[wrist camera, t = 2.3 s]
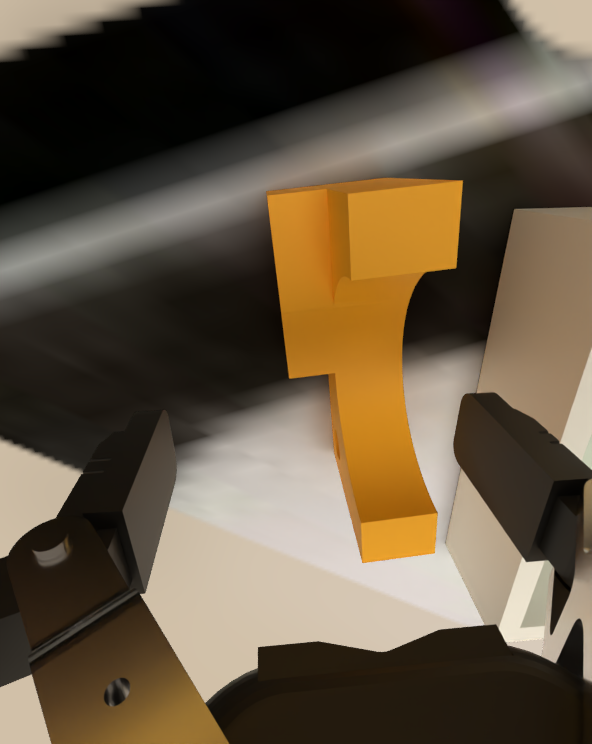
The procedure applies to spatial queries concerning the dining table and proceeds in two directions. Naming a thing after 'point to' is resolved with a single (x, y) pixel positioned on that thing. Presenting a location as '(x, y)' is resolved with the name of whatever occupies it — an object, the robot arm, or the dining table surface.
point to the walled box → (530, 399)
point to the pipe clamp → (364, 333)
